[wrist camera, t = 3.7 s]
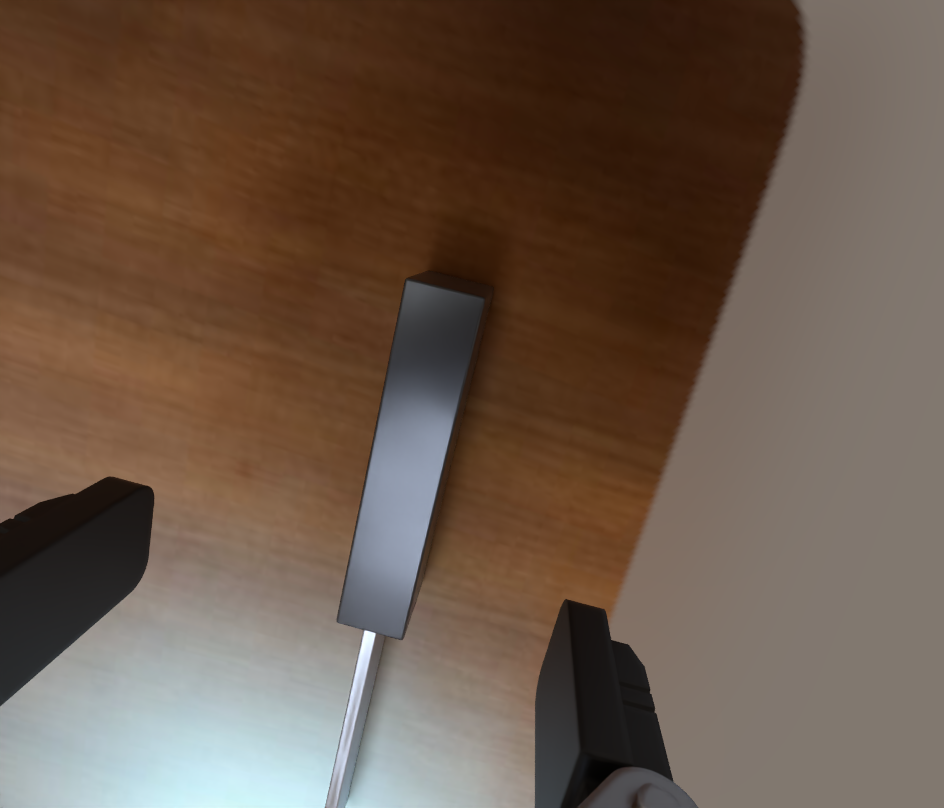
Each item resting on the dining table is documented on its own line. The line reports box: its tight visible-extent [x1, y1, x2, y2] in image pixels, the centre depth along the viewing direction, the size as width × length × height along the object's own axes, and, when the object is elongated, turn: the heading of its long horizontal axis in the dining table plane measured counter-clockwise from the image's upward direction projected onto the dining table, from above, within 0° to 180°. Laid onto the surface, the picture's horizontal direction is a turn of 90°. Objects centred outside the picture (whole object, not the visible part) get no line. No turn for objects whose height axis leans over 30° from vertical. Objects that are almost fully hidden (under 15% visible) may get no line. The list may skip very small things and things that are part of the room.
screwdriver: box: [325, 271, 494, 808], centre depth 19 cm, size 20×2×3 cm, turn 167°
